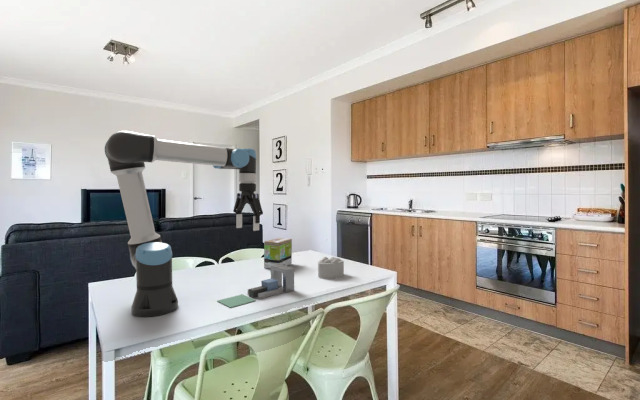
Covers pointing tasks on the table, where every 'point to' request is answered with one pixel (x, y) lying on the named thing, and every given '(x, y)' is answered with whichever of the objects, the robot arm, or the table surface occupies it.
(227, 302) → the mat
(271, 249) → the tea box
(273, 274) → the grey stand
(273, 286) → the plug
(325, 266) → the lumpy-topped squat cylinder
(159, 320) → the table surface
